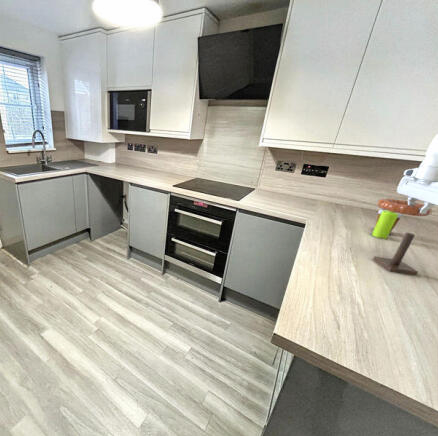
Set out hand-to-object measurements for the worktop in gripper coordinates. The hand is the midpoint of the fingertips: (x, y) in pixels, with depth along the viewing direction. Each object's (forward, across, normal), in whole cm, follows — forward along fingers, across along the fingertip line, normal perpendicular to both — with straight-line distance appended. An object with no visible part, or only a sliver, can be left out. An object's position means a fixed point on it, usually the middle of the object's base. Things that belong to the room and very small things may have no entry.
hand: (415, 211), depth 89 cm
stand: (+22, -5, +2) cm, 23 cm away
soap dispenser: (+22, +30, -14) cm, 40 cm away
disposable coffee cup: (+22, +38, -21) cm, 49 cm away
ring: (0, +6, 0) cm, 6 cm away
